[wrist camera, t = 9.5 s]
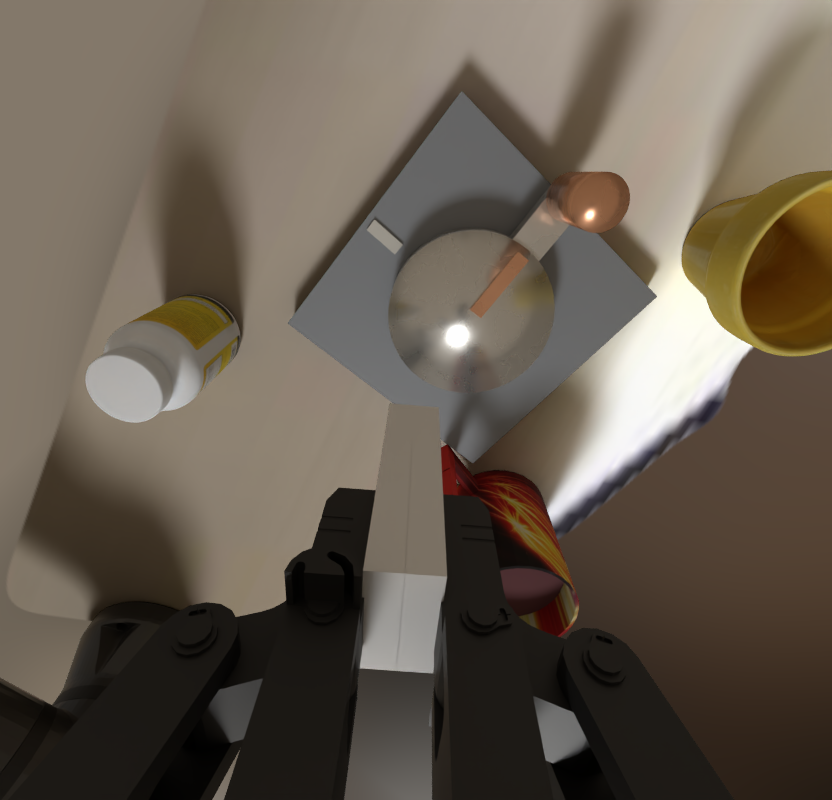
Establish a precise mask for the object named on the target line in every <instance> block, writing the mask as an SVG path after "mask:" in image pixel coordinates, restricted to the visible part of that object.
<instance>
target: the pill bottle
mask: <svg viewBox="0 0 832 800" xmlns="http://www.w3.org/2000/svg"><path fill="white" fill-rule="evenodd" d="M239 347H240V330H239V327H238V324H237V322H236V320H235V318H234V317H233V315H232V314H231V313H230V311H229V310H228V309H227V308H226V307H225V306H223V305H222V304H221V303H219V302H218V301H216V300H214V299H212V298H210V297H207V296H203V295H197V294H190V295H184V296H181V297H178V298H176V299H174V300H172V301H170V302H168V303H166V304H164V305H162V306H160V307H158V308H156V309H154V310H153V311H151V312H149V313H147V314H145V315H143V316H141V317H139V318H137V319H135V320H133V321H131V322H129V323H128V324H126V325H124V326H122V327H120V328H119V329H117V330H116V331H115V332H114V333H113V334H112V335H111V336H110V337H109V339H108V341H107V343H106V345H105V348H104V353H103V355H101V356H100V357H98V358H96V359H95V360H94V361H93V362H92V363H91V364H90V365H89V367H88V369H87V372H86V387H87V390H88V392H89V394H90V396H91V398H92V399H93V401H94V402H95V403H96V404H97V405H98V407H100V408H101V409H102V410H103V411H104V412H106V413H107V414H109V415H110V416H112V417H114V418H116V419H119V420H122V421H126V422H143V421H147V420H149V419H151V418H153V417H154V416H156V415H157V414H158V413H159V412H160V411H169V410H174V409H177V408H180V407H182V406H184V405H186V404H188V403H189V402H190V401H192V400H193V399H194V398H195V397H196V396H197V395H198V394H199V393H200V392H201V391H202V390H203V389H204V388H205V387H206V386H207V385H208V384H209V383H210V382H211V381H212V380H213V379H214V378H215V377H216V376H217V375H218V374H219V373H220V372H221V371H222V370H223V369H224V368H225V367H226V366H227V365H228V364H229V363H230V362H231V361H232V360H233V359H234V357H235V356H236V354H237V352H238V350H239Z"/></svg>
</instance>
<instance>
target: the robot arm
mask: <svg viewBox="0 0 832 800" xmlns="http://www.w3.org/2000/svg"><path fill="white" fill-rule="evenodd" d="M284 572H285V587H286V601H285V602H284V603H282V604H280V605H278V606H276V607H274V608H272V609H269V610H266V611H262V612H258V613H253V614H249V615H244V616H240V617H235V615H234V613H233V612H232V610H230V609H229V608H227V607H225V606H223V605H222V604H216V603H207V602H206V603H201V604H196V605H191V606H189V607H187V608H185V609H183V610H181V611H179V612H178V611H176V610H174V609H171V608H168V607H165V606H161V605H157V604H152V603H144V602H128V603H121V604H116V605H113V606H110V607H108V608H106V609H104V610H103V611H101V612H100V613H99V614H98V615H97V616H96V617H95V618H94V620H93V621H92V622H91V624H90V625H89V626H88V628H87V629H86V631H85V632H84V634H83V635H82V637H81V639H80V642H79V645H78V648H77V651H76V653H75V656H74V659H73V662H72V665H71V668H70V671H69V673H68V677H67V679H66V682H65V685H64V688H63V690H62V692H61V693H60V695H59V696H58V698H57V699H56V701H55V702H54V704H53V705H50V704H48V703H46V702H45V701H43V700H41V699H39V698H37V697H36V696H34V695H32V694H30V693H28V692H26V691H24V690H22V689H20V688H19V687H17V686H15V685H13V684H11V683H9V682H7V681H5V680H4V679H2V678H0V800H212V799H213V797H214V795H215V794H216V792H217V790H218V788H219V786H220V784H221V783H222V781H223V779H224V777H225V775H226V773H227V772H228V770H229V768H230V766H231V764H232V762H233V760H234V759H235V757H236V755H237V753H238V752H239V750H240V752H239V755H238V758H237V761H236V764H235V768H234V771H233V774H232V777H231V780H230V783H229V786H228V789H227V792H226V795H225V798H224V800H344V796H345V788H346V781H347V773H348V765H349V758H350V749H351V742H352V734H353V727H354V719H355V712H356V703H357V690H358V677H359V669H360V668H366V669H379V670H394V671H408V672H422V673H433V669H434V691H433V698H432V704H431V712H430V718H429V724H428V726H432V800H734V799H733V797H732V796H731V794H730V793H729V792H728V790H727V789H726V787H725V785H724V784H723V783H722V781H721V780H720V778H719V777H718V775H717V774H716V772H715V771H714V769H713V768H712V766H711V765H710V763H709V762H708V760H707V759H706V757H705V756H704V754H703V753H702V751H701V750H700V748H699V747H698V746H697V744H696V743H695V741H694V740H693V738H692V737H691V735H690V734H689V732H688V731H687V729H686V728H685V726H684V725H683V723H682V722H681V720H680V719H679V717H678V716H677V714H676V713H675V712H674V710H673V709H672V707H671V706H670V704H669V703H668V701H667V700H666V698H665V697H664V695H663V694H662V692H661V691H660V689H659V688H658V686H657V685H656V683H655V682H654V680H653V679H652V677H651V676H650V674H649V673H648V672H647V670H646V669H645V667H644V666H643V664H642V663H641V661H640V660H639V658H638V657H637V656H636V655H635V653H634V652H633V651H632V650H631V649H630V648H629V647H628V646H627V644H625V643H624V642H622V641H621V640H620V639H618V638H617V637H615V636H614V635H612V634H610V633H607V632H604V631H602V630H599V629H590V628H582V629H579V630H577V631H574V632H572V633H571V634H570V635H569V637H568V638H567V639H563V638H561V637H558V636H555V635H552V634H550V633H547V632H544V631H542V630H539V629H537V628H535V627H533V626H531V625H529V624H528V623H526V622H525V621H524V620H522V619H521V618H520V617H519V616H518V615H517V614H516V613H515V612H514V610H513V608H512V607H511V606H510V605H509V604H508V602H507V600H506V597H505V594H504V589H503V584H502V578H501V573H500V567H499V562H498V556H497V551H496V546H495V543H494V535H493V530H492V524H491V518H490V513H489V510H488V509H487V508H486V506H485V505H484V504H483V502H482V501H481V500H480V498H479V497H473V496H460V495H447V494H443V484H442V463H441V443H440V423H439V407H429V406H416V405H403V404H391V403H390V405H389V412H388V418H387V424H386V430H385V436H384V443H383V449H382V455H381V461H380V468H379V474H378V480H377V486H376V490H363V489H350V488H338V489H337V490H336V491H335V492H334V493H333V494H332V495H331V496H330V497H329V498H328V499H327V501H326V504H325V507H324V510H323V514H322V519H321V520H320V524H319V527H318V532H317V533H316V537H315V540H314V543H313V546H312V548H311V549H309V550H306V551H303V552H301V553H300V554H299V555H297V556H296V557H295V558H293V559H292V560H291V561H290V563H289V565H288V566H287V568H286V569H285V571H284ZM240 748H241V749H240Z"/></svg>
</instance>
